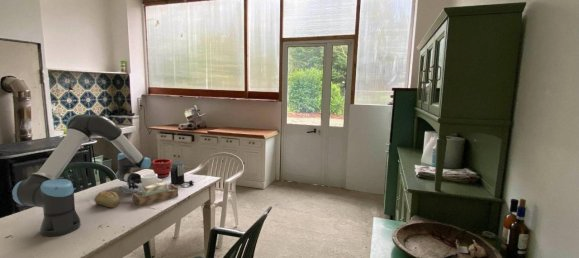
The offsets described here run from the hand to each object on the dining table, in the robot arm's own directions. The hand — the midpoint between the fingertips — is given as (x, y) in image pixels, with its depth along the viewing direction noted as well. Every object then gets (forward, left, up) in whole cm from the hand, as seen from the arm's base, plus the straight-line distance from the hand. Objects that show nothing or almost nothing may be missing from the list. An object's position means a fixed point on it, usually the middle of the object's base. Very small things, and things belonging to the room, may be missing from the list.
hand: (152, 184), depth 179 cm
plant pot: (+22, +37, -8) cm, 44 cm away
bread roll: (-24, +5, -8) cm, 25 cm away
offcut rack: (-1, -7, -7) cm, 10 cm away
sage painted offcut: (-1, -6, -3) cm, 7 cm away
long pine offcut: (-1, -6, -6) cm, 9 cm away
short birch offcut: (-1, -6, -1) cm, 6 cm away
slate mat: (-3, +22, -7) cm, 23 cm away
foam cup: (-1, +3, -8) cm, 8 cm away
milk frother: (+25, +9, -8) cm, 28 cm away
